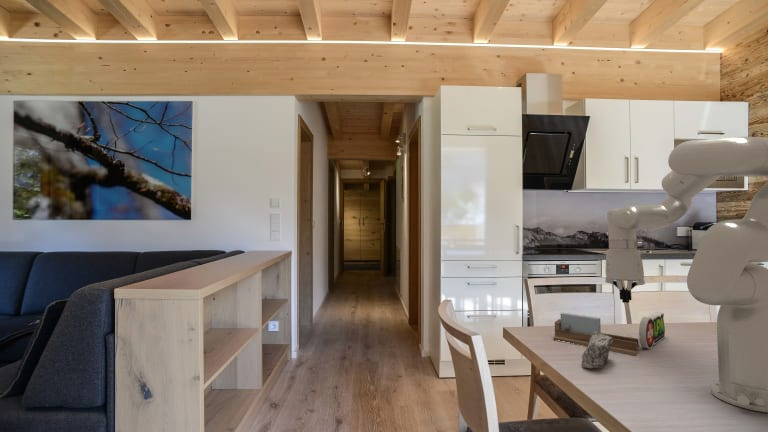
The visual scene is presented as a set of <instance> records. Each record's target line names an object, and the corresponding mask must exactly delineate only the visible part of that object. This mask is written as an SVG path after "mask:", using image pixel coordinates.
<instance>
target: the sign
mask: <svg viewBox="0 0 768 432" xmlns="http://www.w3.org/2000/svg"><path fill="white" fill-rule="evenodd" d="M664 318H665V314H664V312H659V311H657V312H655V313H653V314H650V315H648V316H643V317H642V318H641V320H640V322H639V326H638V327H639V329H638V341H639V343H640V346H641V348H644V349H648V350H651V349H652V348H653V346H655V345H657V344H659V342H661V341H662V340H664V338H665V334H666V328H665V321H664Z"/></svg>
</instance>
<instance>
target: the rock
mask: <svg viewBox="0 0 768 432" xmlns="http://www.w3.org/2000/svg"><path fill="white" fill-rule="evenodd" d="M612 341H613V338H612V337H610V336H608V335H604V334H600V333H598V332H594V333H593V334H592V337H591V338H590V340H589V344H588V347H586V349H585V350H584V351H583V353H582V355H581V367H582V368H583V369H603V368H604V367H605V362H607V361H608V359H609V354H610V351H609V349H610V346H611V343H612Z"/></svg>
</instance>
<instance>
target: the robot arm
mask: <svg viewBox="0 0 768 432" xmlns="http://www.w3.org/2000/svg"><path fill="white" fill-rule="evenodd" d="M667 163H668V167H669V169H670V170H671V171H670V172H669V173H667V174H666V175H665V176H664V177H663V178H662V180H661V187H662V189H663V191H664V192H665V193H666V194H667V195H668V196H667V197H666V198H665V199H664V200H662V201H660V203H658V204H654V205H653V204H646V205H645V204H637V205H636V204H635V205H634V204H633V205H627V206H624V207H616V208H610V209H609V210H607V213H606V216H607V232H608V233H607V234H608V248H609V249H607V250H606V254H605V255H606V256H605V283H607V284H610V285H613V286H614V287H616V288H617V289H618V291H619V300H621V302H622V303H626V304H629V303H630V301H632V299H633V297H632V290H633V289H634V288H635V287H636V286H643V285H646V282H645V279H644V277H645V273H644V265H643V263H644V262H643V257H642V254H641V250H640V249H637V248H638V247H639V248H640V247H642V246H643V243H642V241H637V235H636V233H637V232H636V231H637V230H640V231H641V230H660V229H666V228H667V227H669V226H671V225H672V224H674V223H676V222H677V221H678V220H680V219H682V218H683V217H684V216H685V215H686V214H688V211H689V210H690V207H691V205H692V202H693V198H694V197H696V196H697V195H698V194H699V193H701V192H703V190H705V189H706V188H708V187H709V186H710V185H712V184H713V183H714V182H716V181H717V180H718V179H719V178H721V177H745V178H747V177H749V178H750V177H751V178H752V177H753V178H755V177H756V178H758V177H759V178H760V177H761V178H762V177H764V178H767V179H768V137H763V136H762V137H761V136H734V137H719V138H708V139H693V140H692V139H691V140H686V141H683V142H681V143H680V144H677V145H676V146H675V147H674V148H673V149H672V150H671V151H670V153H669V155H668V161H667ZM749 204H750V205H749V207H748V209H747V210H746V213H745V214H744V216H743V217H742V218H741V219H725V220H721V221H718V222H716V223H714V224H713V225H711V226H709V227H708V229H707V230H706V231H705V232H704V233H703V235H702V237H701V239H700V241H699V244H698V247H697V249H696V251H695V254H694V256H693V259H692V262H691V265H690V266H689V270H688V273H687V276H686V284H687V289H688V291H689V293H690V296H692V297H693V298H694V299H695V300H696V301H698V302H699V303H702V304H704V305H708V306H719V309H718V311H717V317H716V336H717V338H716V339H717V340H716V342H717V364H718V365H717V366H718V367H717V368H718V372H717V373H718V383H713V384H711V385H710V387H709V388H710V389H709V390H710V393H711V394H712V395H713V396H714V397H716V398H717V399H719V400H720V401H723V402H726V403H728V404H731V405H733V406H737V407H739V408H743V409H747V410H749V411H753V412H755V411H756V412H760V413H765V414H766V413H768V267H765V266H763V265H760V264H757V263H768V181H766V182H765V184H764V185H763V186H762V187H761V188H760V189H759V190H758V191H757V192H756V193H755V195H754V196H753V197H752V199H751V201H750V203H749ZM623 281H624V282H625V281H627V283H626V288H625V286H624V284H623Z"/></svg>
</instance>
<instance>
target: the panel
mask: <svg viewBox="0 0 768 432" xmlns="http://www.w3.org/2000/svg"><path fill="white" fill-rule="evenodd" d="M560 319H561V330H565V325H570V331H573V332H578V333H584V334H590V335H592V334H593V333H594V332H598V333H600V334H601V333H602V332H601V327H602V326H601V317H597V316H591V315H590V316H589V315H583V314H577V313H569V312H561V313H560Z"/></svg>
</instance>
